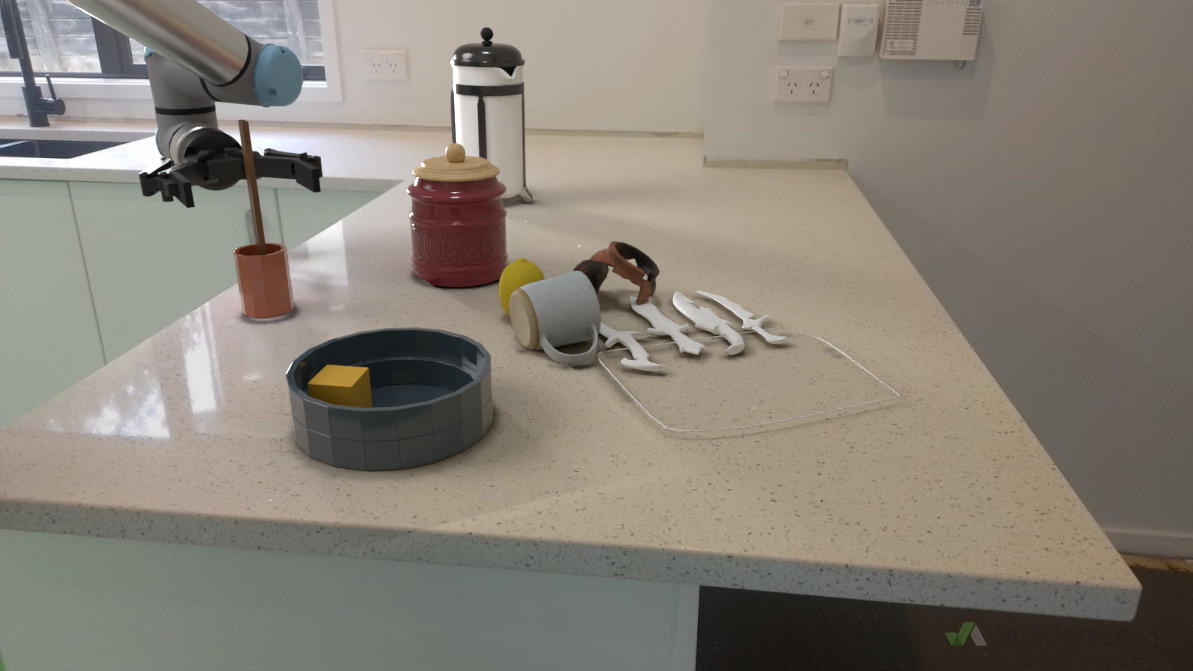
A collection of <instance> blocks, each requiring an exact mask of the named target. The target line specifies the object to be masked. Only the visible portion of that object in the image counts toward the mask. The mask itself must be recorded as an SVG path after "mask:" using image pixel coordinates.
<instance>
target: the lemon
mask: <svg viewBox="0 0 1193 671" xmlns="http://www.w3.org/2000/svg"><path fill="white" fill-rule="evenodd" d="M545 279H546V278H545V276H544V273H543V271H542V269H541V268H540V267H539V266H538V265H537V264H536V263H534V262H532V261H530V260H527V259H526V258H525V257H519V258H518V259H517V260H514V261H512V262H510V263H508V265H507V267H506V268H505V269H504V271H503V272H502V275H501V277H500V279H499V281H498V289H497V290H498V291H497V292H498V299H499V302H500V306H501V308H502V310H503V311H504V312H505V314H507V316H509V317H510V311H509V302H510V298H511V295H512V293H513V292H514V291H515V290H516V289H518V288H520V287H522V286H524V285H527V284H530V283H533V282H537V281H541V280H545Z"/></svg>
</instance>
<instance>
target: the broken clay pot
mask: <svg viewBox="0 0 1193 671" xmlns="http://www.w3.org/2000/svg"><path fill="white" fill-rule="evenodd" d="M631 260H634V261H635V264H636V265H635V264H633V263H632V262H630V261H631ZM609 267H611V268H612V270H611V272H612V273H613V274H616V275H618V276H619V277H621V278H622V279H625V280H627V281H629V282H630V283H632V284H633V285H635V286H638V287H639V293H638V295H637V297H636V298H637V299H636V304H637V305H641V304H644V303H646V302H648V303H649V300H650V298H652V297H653V296H654V294H655V292H656V291H657V290H656V289H657V280H656V279H657V277H658V276H659V275H660V272H661V271H660V269H659V267H658V265H657V263H656V262H655V261H654V260H653V259H652V257H650V256H649V255H648V254H646V253H645V252H644V251H642V250H641V249H639V248H637V247H636V246H634V245H632V244H629V243H627V242H623V241H618V240H612V241H611V242H610V243H609V245H608V246H607V247H606V248H602V249H600V250H598V251H596V252H595V253H594V254H592V255H591V257H590V258H589V259H584V260H582V261H581V262H579V263H578V264H576V266H575V267H574V268H573V269H572V271H581V272H583V273H584V274H585V275H586V276H587V277H588V279H589V280H590V282H591V284H592V285H593V287H594V289H595V292H596V295H597V296H598V293H599V291H600V288H601V287H602V285H603V283H604V282H605V280H606V279H607V277H608V275H609V271H610V268H609ZM645 276H646V279H645V278H644V277H645Z"/></svg>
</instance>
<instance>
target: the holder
mask: <svg viewBox="0 0 1193 671" xmlns="http://www.w3.org/2000/svg"><path fill="white" fill-rule="evenodd" d="M265 244H266V251H267V254H266V255H257V249H256V242H255V243H248V244H244V245H242V246H239V247H236V248H235V249H234V250H233V252H232V253H233V254H232V255H233V259H234V265H235V272H236V273H235V274H236V278H237V284H238V285H237V286H238V292H239V298H240V303H241V311H242V313H243V315H244V316H246V317H248V318H252V319H270V318H271V319H272V318H277V317H281V316H284V315H287V314H289V313H291V312H292V311H293V310H294V308H295V301H294V292H293V285H292V277H291V270H290V263H289V255H288V254H289V253H288V249H287V248H288V247H287V246H285V244H283V243H277V242H265Z"/></svg>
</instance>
